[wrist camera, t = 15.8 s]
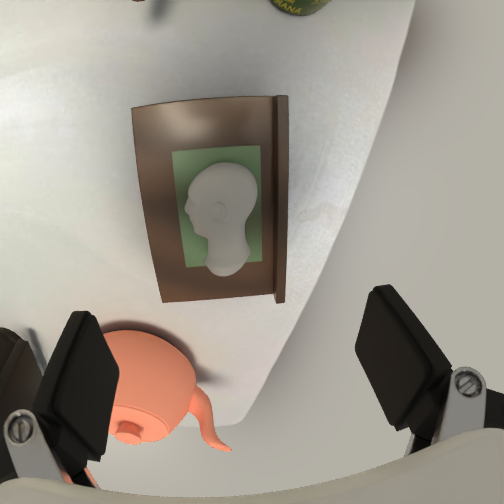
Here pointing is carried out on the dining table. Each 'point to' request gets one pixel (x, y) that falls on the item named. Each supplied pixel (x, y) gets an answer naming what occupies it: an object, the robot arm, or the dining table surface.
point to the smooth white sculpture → (222, 214)
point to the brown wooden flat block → (189, 166)
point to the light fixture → (16, 376)
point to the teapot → (155, 390)
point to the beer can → (300, 6)
